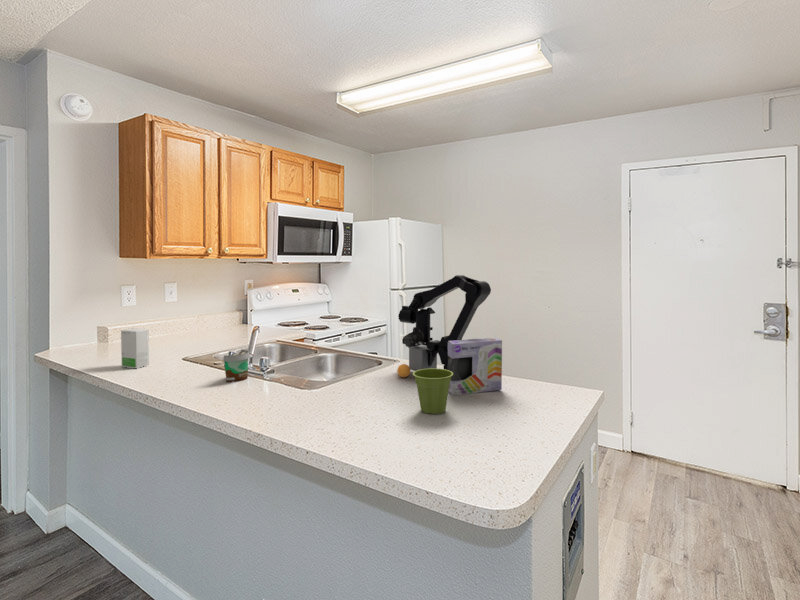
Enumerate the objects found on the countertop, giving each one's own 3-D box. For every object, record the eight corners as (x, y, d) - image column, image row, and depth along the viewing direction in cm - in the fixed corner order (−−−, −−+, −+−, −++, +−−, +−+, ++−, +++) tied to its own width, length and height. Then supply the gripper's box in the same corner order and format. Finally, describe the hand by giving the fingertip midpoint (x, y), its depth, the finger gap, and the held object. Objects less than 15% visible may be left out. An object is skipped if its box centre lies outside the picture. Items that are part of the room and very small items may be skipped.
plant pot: (428, 401, 139) (428, 366, 138) (460, 409, 132) (461, 372, 131) (404, 411, 130) (404, 373, 129) (437, 420, 123) (438, 380, 122)
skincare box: (121, 367, 184) (119, 330, 182) (135, 364, 190) (133, 327, 189) (137, 369, 181) (135, 331, 180) (150, 365, 188) (148, 328, 186)
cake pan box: (449, 396, 145) (450, 342, 144) (444, 391, 150) (444, 339, 148) (502, 391, 150) (503, 339, 149) (495, 387, 155) (496, 337, 154)
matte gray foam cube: (436, 369, 174) (436, 347, 173) (422, 372, 169) (422, 350, 168) (423, 366, 180) (423, 344, 179) (409, 369, 175) (409, 347, 174)
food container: (239, 384, 159) (238, 356, 158) (223, 383, 160) (223, 355, 159) (257, 375, 171) (256, 349, 170) (242, 374, 172) (241, 349, 172)
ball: (413, 377, 168) (413, 364, 168) (403, 379, 165) (403, 366, 164) (404, 374, 172) (404, 362, 171) (394, 377, 169) (394, 364, 168)
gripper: (391, 324, 175) (391, 363, 176) (423, 329, 161) (423, 372, 162) (413, 321, 182) (413, 359, 183) (445, 326, 168) (445, 367, 169)
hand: (422, 364), depth 174 cm, fingers closed on matte gray foam cube, 8 cm apart
